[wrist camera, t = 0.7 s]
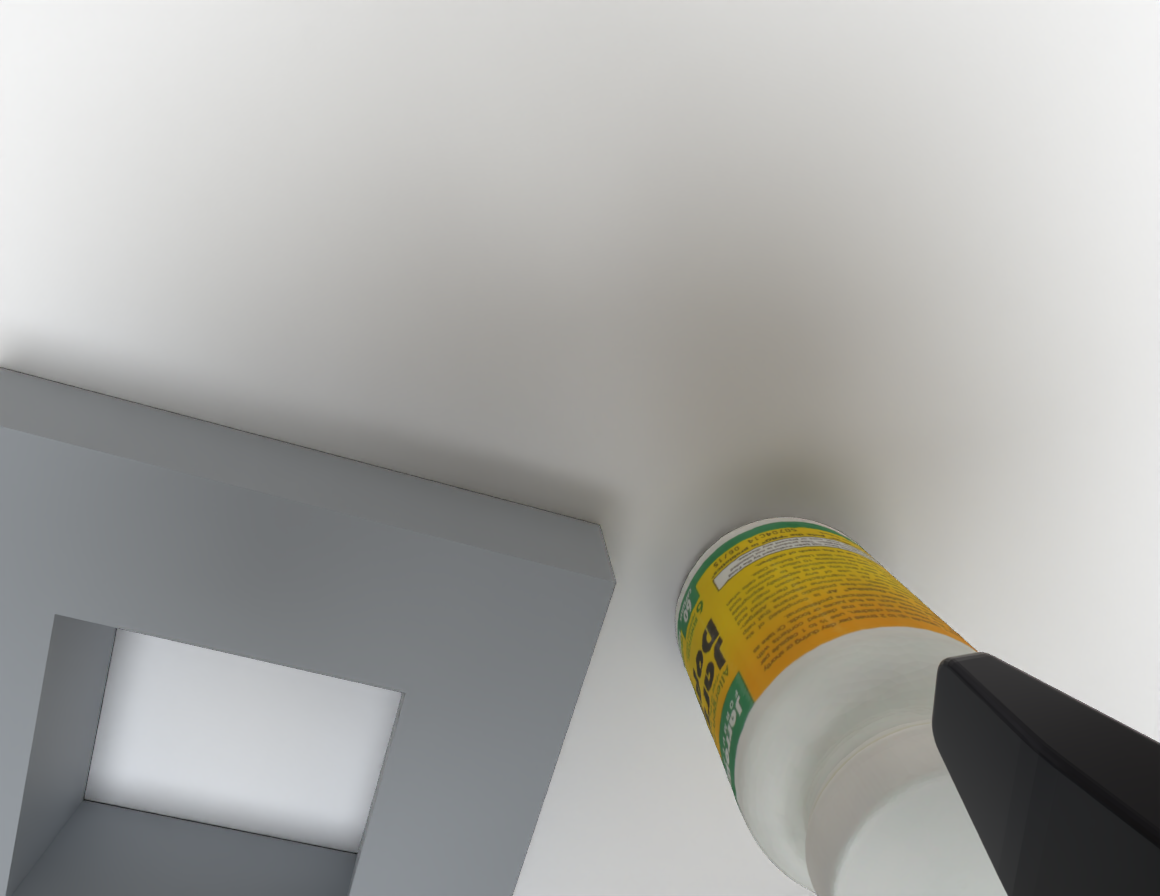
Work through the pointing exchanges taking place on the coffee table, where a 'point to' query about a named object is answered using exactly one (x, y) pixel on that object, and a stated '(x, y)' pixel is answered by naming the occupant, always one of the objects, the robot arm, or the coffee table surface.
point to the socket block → (278, 643)
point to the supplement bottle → (829, 712)
